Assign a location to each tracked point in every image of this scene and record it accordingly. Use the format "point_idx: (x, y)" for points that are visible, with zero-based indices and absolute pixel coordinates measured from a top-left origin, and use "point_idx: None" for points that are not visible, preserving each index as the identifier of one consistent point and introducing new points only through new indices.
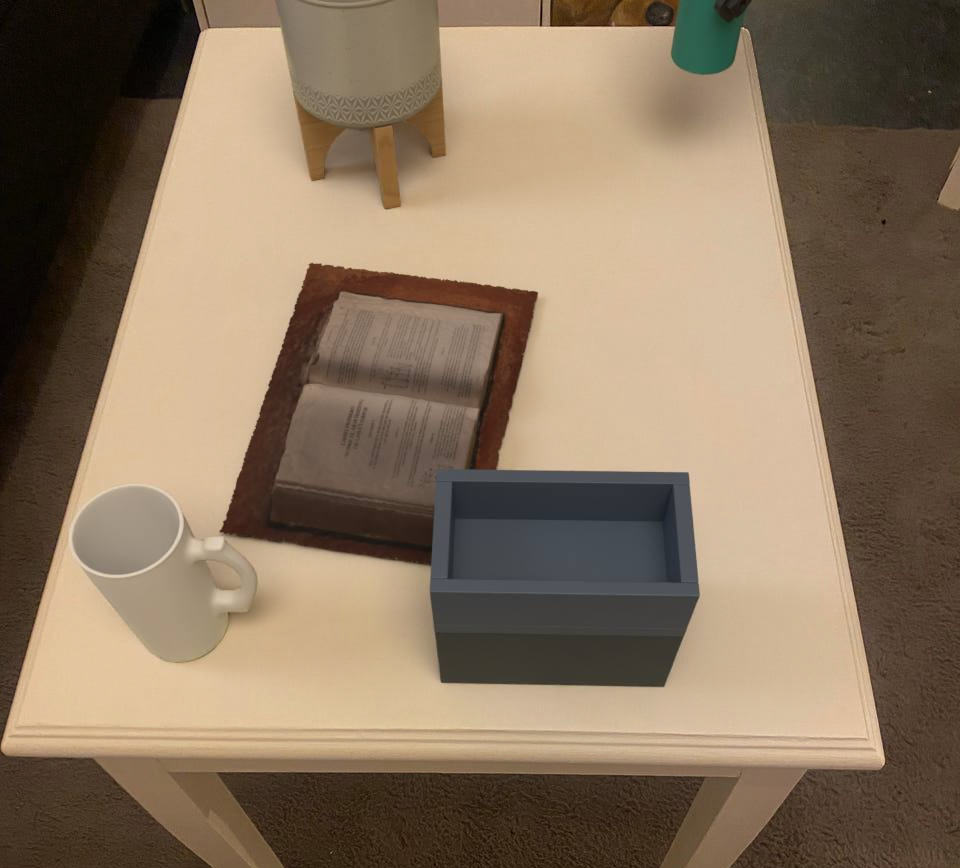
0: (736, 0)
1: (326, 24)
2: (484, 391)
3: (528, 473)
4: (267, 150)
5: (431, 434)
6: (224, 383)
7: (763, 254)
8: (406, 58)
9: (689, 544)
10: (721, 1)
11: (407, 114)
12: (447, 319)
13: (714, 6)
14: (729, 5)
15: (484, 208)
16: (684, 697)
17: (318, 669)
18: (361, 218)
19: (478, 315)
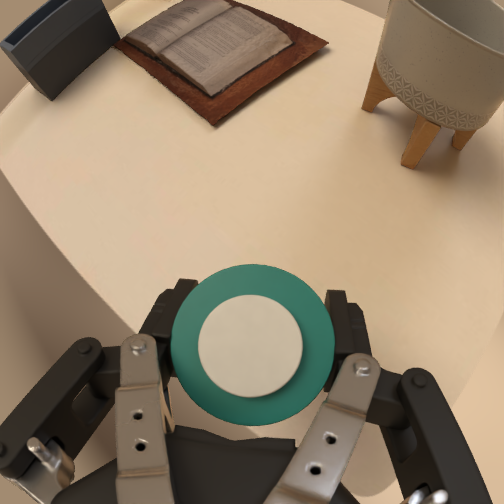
0: (159, 298)
1: None
2: (161, 57)
3: (62, 5)
4: None
5: (157, 29)
6: (278, 6)
7: (124, 302)
8: (388, 33)
9: (4, 45)
10: (183, 283)
11: (377, 66)
12: (220, 59)
13: (196, 280)
14: (170, 292)
15: (325, 149)
16: (28, 92)
17: (134, 7)
18: (363, 87)
19: (211, 74)
